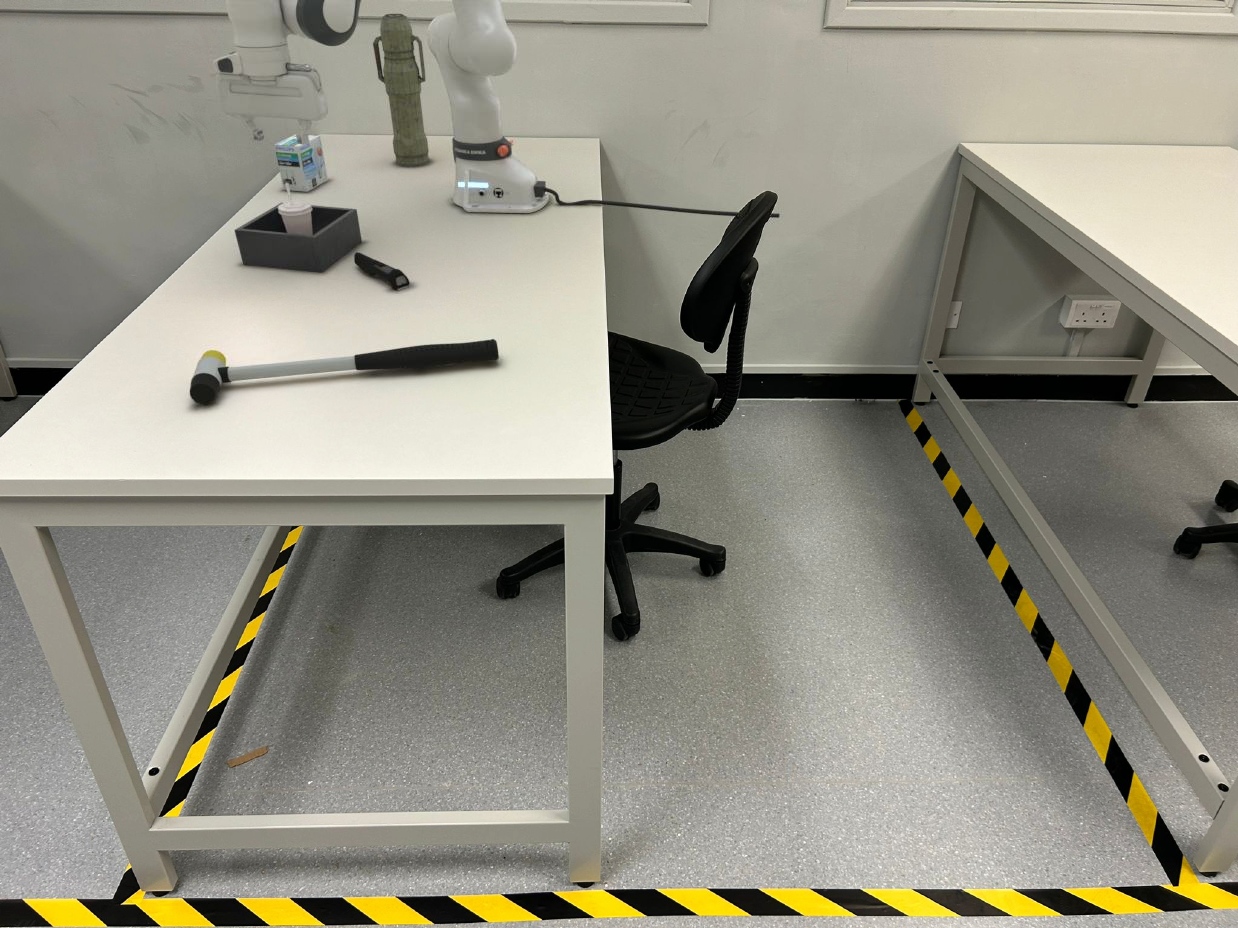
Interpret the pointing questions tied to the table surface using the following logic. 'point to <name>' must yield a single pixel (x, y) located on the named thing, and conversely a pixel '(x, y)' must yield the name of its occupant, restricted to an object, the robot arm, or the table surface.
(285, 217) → the smoothie
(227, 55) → the robot arm
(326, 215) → the basin
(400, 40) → the thermos
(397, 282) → the electric trimmer
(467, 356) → the hammer
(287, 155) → the light bulb box
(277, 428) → the table surface
